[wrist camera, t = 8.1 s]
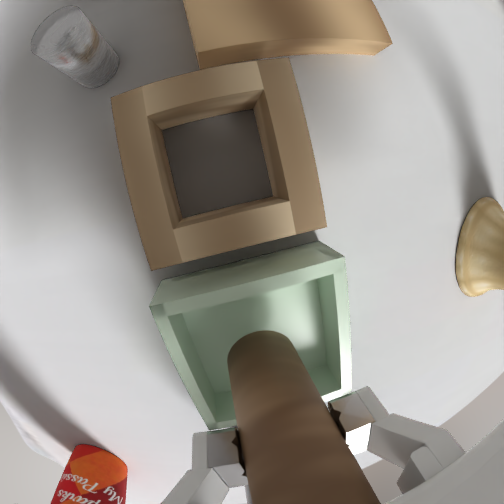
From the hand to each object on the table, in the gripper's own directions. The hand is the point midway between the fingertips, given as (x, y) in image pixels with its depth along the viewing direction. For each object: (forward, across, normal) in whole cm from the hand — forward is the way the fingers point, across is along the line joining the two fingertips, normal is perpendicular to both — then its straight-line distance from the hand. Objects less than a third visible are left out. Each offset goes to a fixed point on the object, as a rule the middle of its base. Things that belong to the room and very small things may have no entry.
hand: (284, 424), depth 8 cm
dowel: (+4, 0, 0) cm, 4 cm away
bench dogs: (+7, +5, -20) cm, 22 cm away
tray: (+7, 0, 0) cm, 7 cm away
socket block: (+7, 0, -9) cm, 11 cm away
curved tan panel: (+7, -5, -20) cm, 22 cm away
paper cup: (+7, +18, +12) cm, 23 cm away
